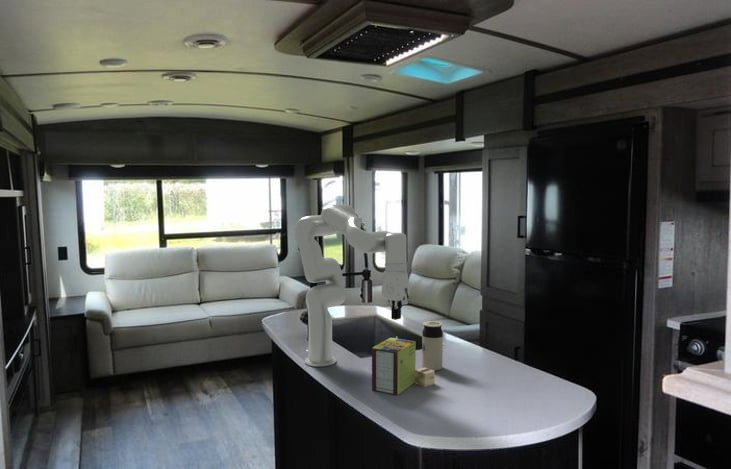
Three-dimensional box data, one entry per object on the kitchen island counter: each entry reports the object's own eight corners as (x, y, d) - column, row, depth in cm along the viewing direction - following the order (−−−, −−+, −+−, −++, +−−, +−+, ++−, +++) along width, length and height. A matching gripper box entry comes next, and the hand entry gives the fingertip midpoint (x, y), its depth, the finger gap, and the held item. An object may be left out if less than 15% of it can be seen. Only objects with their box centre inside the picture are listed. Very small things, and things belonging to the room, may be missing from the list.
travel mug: (441, 365, 221) (442, 321, 220) (442, 371, 213) (443, 326, 212) (421, 364, 222) (422, 320, 221) (422, 370, 214) (422, 325, 213)
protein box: (415, 382, 202) (416, 340, 201) (397, 395, 189) (397, 351, 187) (390, 377, 207) (390, 336, 206) (370, 390, 194) (371, 347, 192)
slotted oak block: (414, 383, 201) (415, 369, 200) (424, 380, 204) (424, 366, 204) (424, 387, 197) (425, 373, 197) (434, 384, 200) (434, 370, 200)
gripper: (374, 266, 197) (374, 317, 199) (403, 271, 186) (403, 324, 187) (389, 264, 202) (389, 313, 204) (418, 268, 191) (418, 320, 192)
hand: (396, 318), depth 195 cm, fingers closed
